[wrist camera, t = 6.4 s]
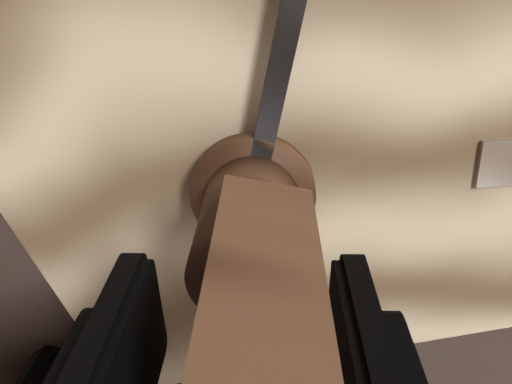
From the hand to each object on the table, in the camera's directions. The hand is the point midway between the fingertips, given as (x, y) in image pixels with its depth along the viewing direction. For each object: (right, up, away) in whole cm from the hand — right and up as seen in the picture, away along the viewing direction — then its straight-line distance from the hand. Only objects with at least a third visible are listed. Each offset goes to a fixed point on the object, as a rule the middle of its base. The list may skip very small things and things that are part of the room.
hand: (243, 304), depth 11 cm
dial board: (0, +4, +7) cm, 8 cm away
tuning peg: (+1, +5, +4) cm, 7 cm away
